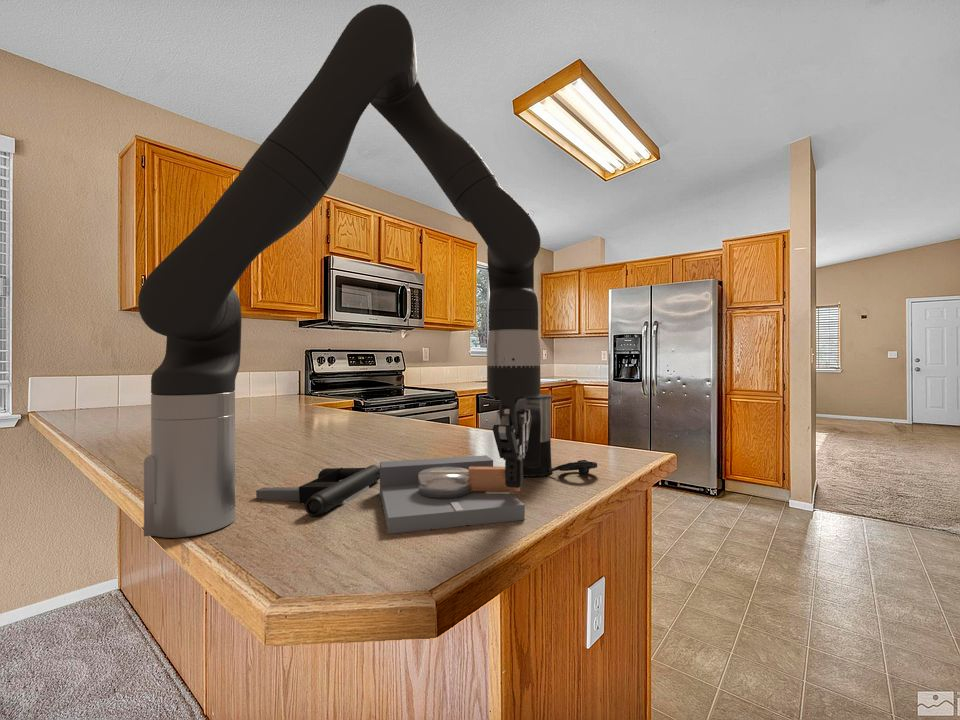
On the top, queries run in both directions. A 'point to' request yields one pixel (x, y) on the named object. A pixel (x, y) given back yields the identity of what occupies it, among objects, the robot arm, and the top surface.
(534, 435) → the milk frother
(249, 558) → the top surface
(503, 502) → the panel
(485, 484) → the dial
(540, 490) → the top surface
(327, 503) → the door handle
